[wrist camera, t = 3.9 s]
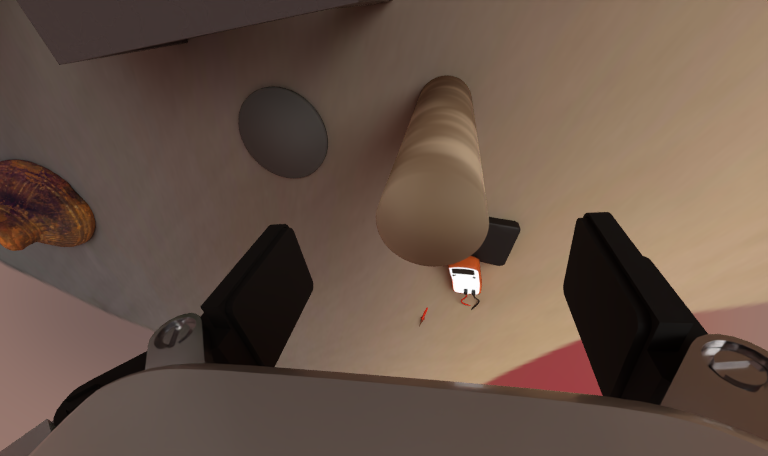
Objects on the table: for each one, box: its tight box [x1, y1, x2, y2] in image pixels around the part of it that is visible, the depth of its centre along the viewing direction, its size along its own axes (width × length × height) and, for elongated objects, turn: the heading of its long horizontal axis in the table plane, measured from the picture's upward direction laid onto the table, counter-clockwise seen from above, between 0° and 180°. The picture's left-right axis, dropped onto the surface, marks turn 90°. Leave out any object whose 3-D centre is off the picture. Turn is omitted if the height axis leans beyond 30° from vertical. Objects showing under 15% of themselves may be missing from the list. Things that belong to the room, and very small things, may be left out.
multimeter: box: [419, 217, 520, 326], centre depth 33 cm, size 18×12×3 cm, turn 169°
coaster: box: [239, 87, 328, 178], centre depth 28 cm, size 8×8×1 cm
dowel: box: [376, 76, 489, 267], centre depth 18 cm, size 4×4×16 cm
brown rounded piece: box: [0, 160, 95, 251], centre depth 37 cm, size 12×12×7 cm
